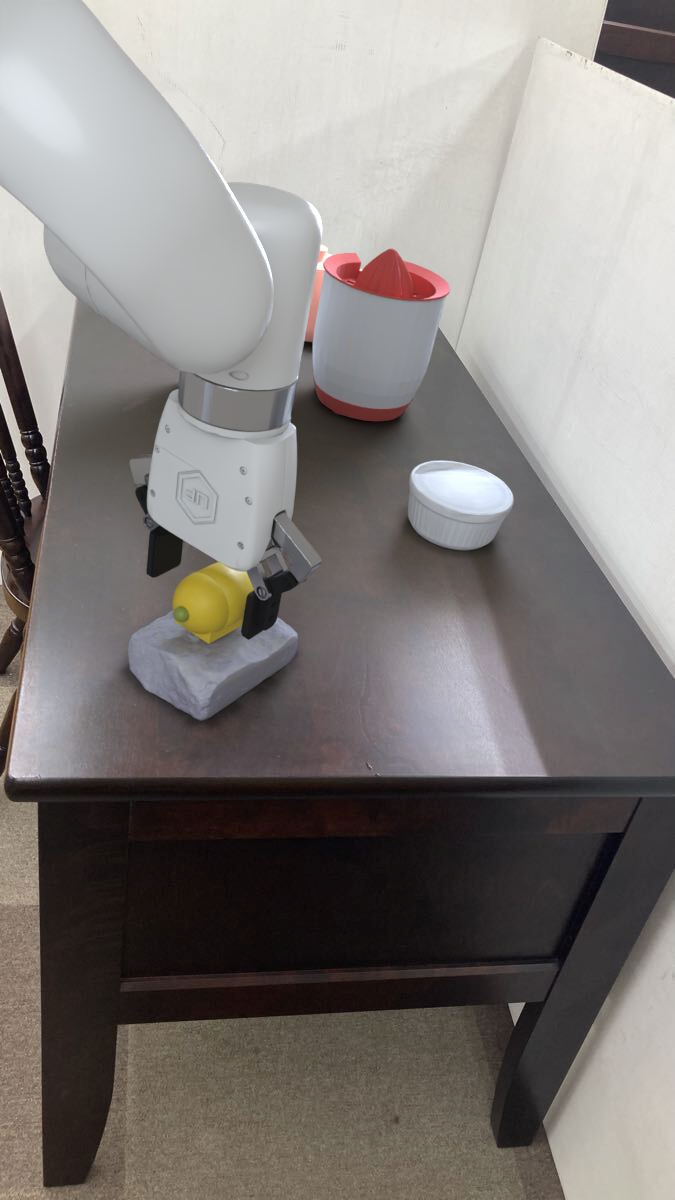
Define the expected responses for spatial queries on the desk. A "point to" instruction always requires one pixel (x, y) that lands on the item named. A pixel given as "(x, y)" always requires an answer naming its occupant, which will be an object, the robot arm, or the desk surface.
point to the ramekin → (457, 504)
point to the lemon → (211, 601)
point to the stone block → (206, 663)
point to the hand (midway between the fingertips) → (209, 599)
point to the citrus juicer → (374, 333)
